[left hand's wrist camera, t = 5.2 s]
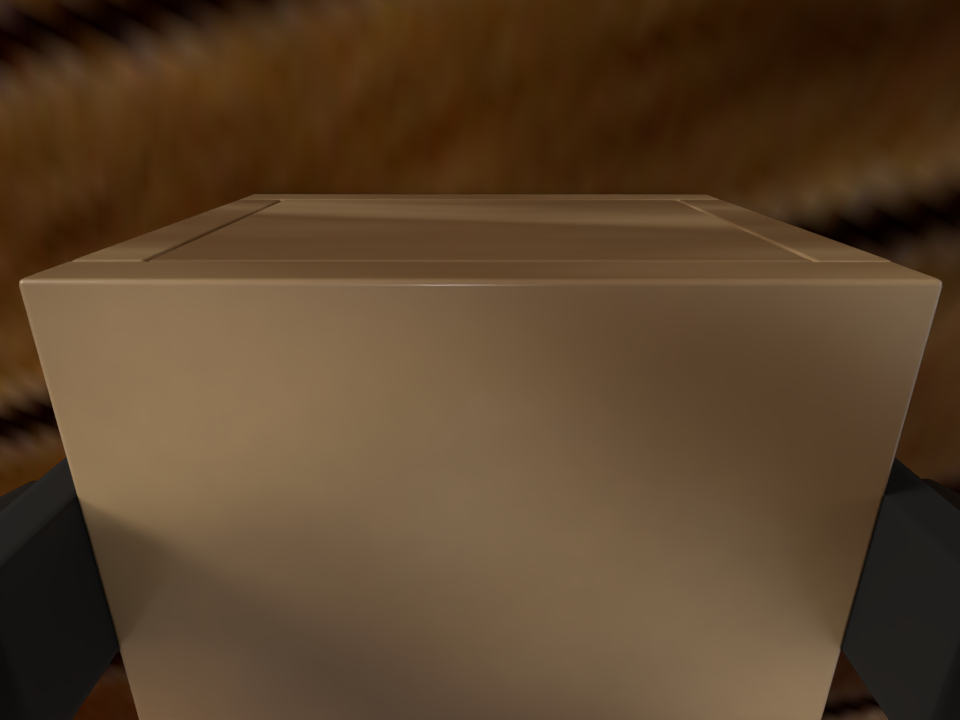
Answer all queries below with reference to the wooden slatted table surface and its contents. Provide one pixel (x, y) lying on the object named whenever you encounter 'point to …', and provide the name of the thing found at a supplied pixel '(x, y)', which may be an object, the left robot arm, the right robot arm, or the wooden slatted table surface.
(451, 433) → the cabinet
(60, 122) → the wooden slatted table surface
